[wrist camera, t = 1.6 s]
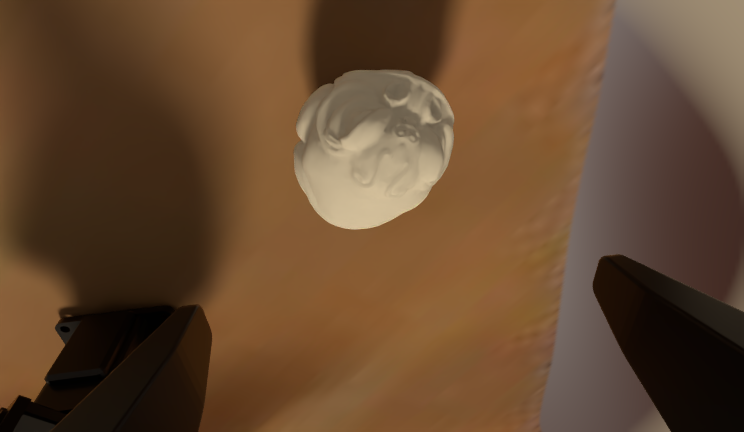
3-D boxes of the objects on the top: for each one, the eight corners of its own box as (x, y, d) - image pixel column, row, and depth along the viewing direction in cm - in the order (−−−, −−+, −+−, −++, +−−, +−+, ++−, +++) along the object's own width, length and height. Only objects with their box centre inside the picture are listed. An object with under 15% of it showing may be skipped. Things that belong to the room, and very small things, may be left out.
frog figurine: (456, 76, 19) (516, 132, 13) (386, 200, 22) (409, 290, 16) (333, 12, 17) (339, 45, 11) (274, 157, 20) (255, 241, 14)
